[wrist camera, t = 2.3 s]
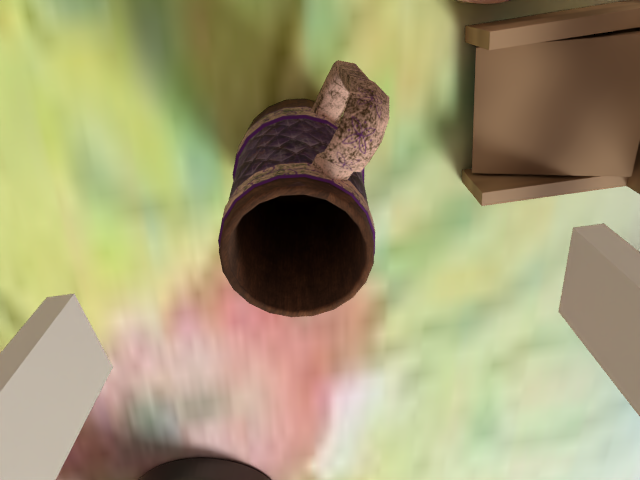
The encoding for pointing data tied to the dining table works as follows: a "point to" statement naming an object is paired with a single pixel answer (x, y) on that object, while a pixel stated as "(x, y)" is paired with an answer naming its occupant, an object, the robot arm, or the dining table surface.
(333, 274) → the mug
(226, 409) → the dining table surface
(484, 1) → the pink disc
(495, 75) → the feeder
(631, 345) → the robot arm
